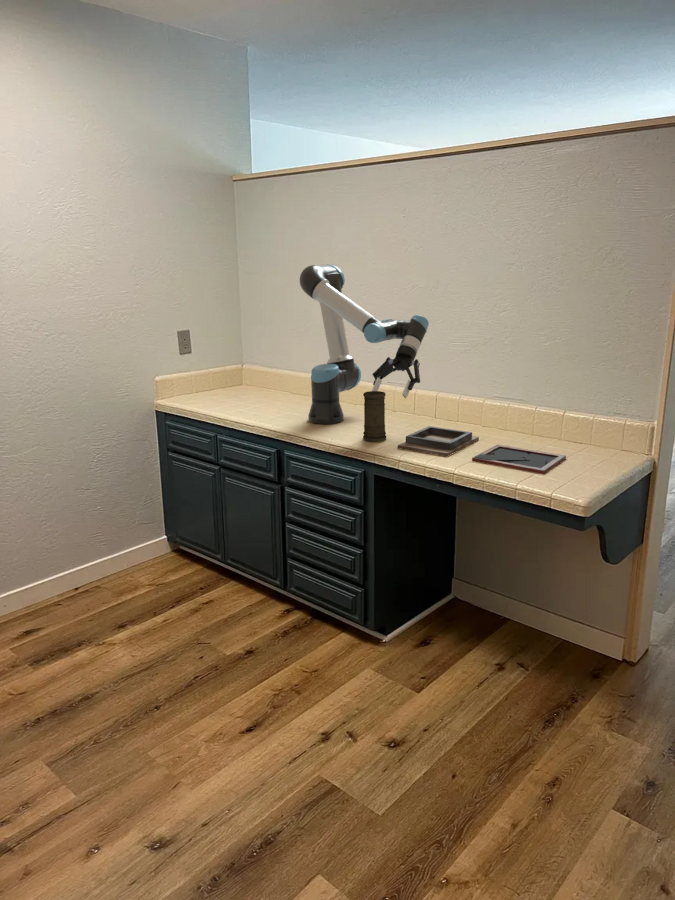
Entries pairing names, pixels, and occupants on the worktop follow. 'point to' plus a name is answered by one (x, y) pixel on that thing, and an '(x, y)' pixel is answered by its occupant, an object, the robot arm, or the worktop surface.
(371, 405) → the container
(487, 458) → the picture frame
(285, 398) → the worktop surface
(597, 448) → the worktop surface
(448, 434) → the holder
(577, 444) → the worktop surface
